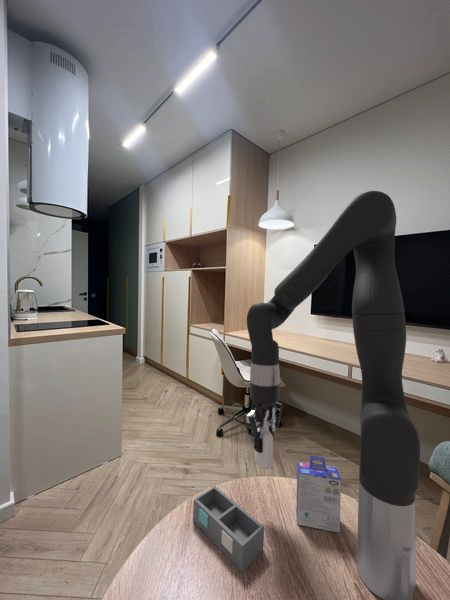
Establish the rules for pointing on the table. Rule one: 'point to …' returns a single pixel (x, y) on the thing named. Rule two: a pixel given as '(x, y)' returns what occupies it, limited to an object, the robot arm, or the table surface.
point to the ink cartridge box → (318, 495)
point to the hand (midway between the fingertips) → (264, 447)
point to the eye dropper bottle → (265, 450)
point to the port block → (229, 527)
